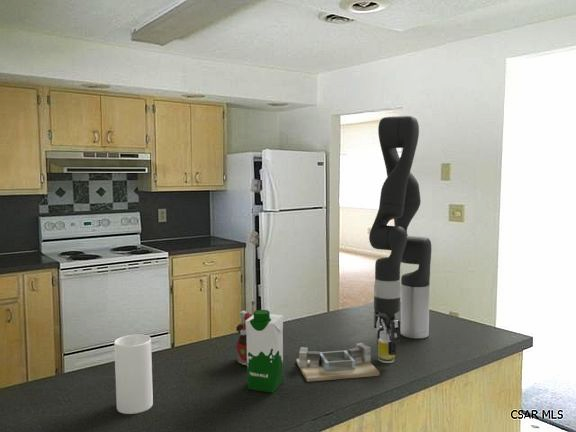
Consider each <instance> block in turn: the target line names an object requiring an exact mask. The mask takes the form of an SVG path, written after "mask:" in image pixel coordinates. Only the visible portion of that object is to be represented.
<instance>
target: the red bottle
mask: <svg viewBox="0 0 576 432" xmlns="http://www.w3.org/2000/svg"><path fill="white" fill-rule="evenodd" d="M254 311H256V302H255V300H251V313H250V312H247V311H246V310H241V311H240V312H239V313H238V315H239V318H240V319H244V323H243V322H242V323H241V322H240V323H239V324H237V326H236V329H235V330H236V332H238V334H240V336H239V337H238V340H237V342H236V346H237V347H236V351H237V353H238V356H237V358H236V359H237V362H238V363H239V364H241V365H243V366H244V365H245V366H247V335H246V324H245V321H246V320H247V319H248V318H250V317H251V316H252V315H254Z"/></svg>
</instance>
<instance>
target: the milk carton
mask: <svg viewBox="0 0 576 432" xmlns="http://www.w3.org/2000/svg"><path fill="white" fill-rule="evenodd" d="M251 315H252V314H251ZM244 323H245V324H246V335H247V365H246V375H247V380H246V381H247V390H253V391H258V392H263V393H264V392H265V393H266V392H267V393H272V394H273V393H275V391H277V389H278V388H279V387H280V385H281V384H282V383H283V379H284V378H283V377H284V371H283V370H284V353H283V352H284V341H283V339H284V338H283V337H284V336H283V335H284V334H283V333H284V329H283V328H284V315H283V314H275V313H271V312H270V311H269V310H266V309H258V310H255V311H254V315H252V316H251V317H250V318H248V319H247V320H246V321H245V320H244Z"/></svg>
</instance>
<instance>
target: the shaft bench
mask: <svg viewBox="0 0 576 432" xmlns="http://www.w3.org/2000/svg"><path fill="white" fill-rule="evenodd" d="M371 348H372V347H371V346H369V345H367V344H365V343H363V342H359V343H355V347H353V348H348V349H346V350H332V351H318V350H317V351H314V350H313V351H312V350H311V351H309V350H308V349H309V348H308V347H303V346H301V347H300V349H299V352H298V353H299V355H298V358H296V359H295V360H296V362H295V363H296V364H297V366H298V368H299V369H300V372H301V374H302V375H303V377H304V378H305V381H306V382H320V381H321V382H322V381H332V380H343V379H344V380H345V379H354V378H356V379H358V378H366V377H377V376H378V377H379V376H380V371H379V369H377V368H376V367H375V365H373V363H372V362H371V354H372V353H371V352H372V349H371Z"/></svg>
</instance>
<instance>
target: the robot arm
mask: <svg viewBox="0 0 576 432" xmlns="http://www.w3.org/2000/svg"><path fill="white" fill-rule="evenodd" d="M377 127H378V129H377V130H378V141H379V145H380V149H381V152H382V153H381V154H382V157H383V160H384V161H383V162H384V166H385V170H386V176H387V177H386V179H385V180H384V181H383V184H382V187H381V189H380V196H379V197H380V198H379V205H378V211H377V213H376V216H375V219H374V221H373V224H372V226H371V228H370V231H369V236H368V240H369V243H370V246H371V247H372V248H373V249H375V250H382V251H383V250H384V251H390V255H389V256H387V257H380V258H378V259H376V261H375V263H374V265H375V267H374V278H375V279H374V284H373V310H374V313H373V328H374V329H375V332H376V344H377V345H378V340H379V338H380V331H383V330H384V332H385V334H386V335H387V337H388V354H389V355H395V356H396V354H397V342H401V339H402V338H401V337H402V336H403V337H406V338H410V339H425V338H427V337H429V334H430V333H429V331H430V326H429V325H430V285H431V284H430V282H431V281H430V279H431V278H430V277H431V264H432V263H431V261H432V241H431V240H430V238H429V237H426V236H413V235H411V236H410V235H409V234H408V228H409V225H410V223H411V222H412V220H413V219H414V217H415V216H416V214H417V212H418V210H419V208H420V206H421V200H422V199H421V193H420V186H419V182H418V180H417V178H416V177H415V175H414V174H413V173H412V172H411V171H412V170H411V169H412V166H413V162H414V158H415V154H416V150H417V146H418V141H419V137H420V136H419V135H420V125H419V122H418V119H417V118H416V117H415V116H413V115H400V116H399V115H398V116H385V117H382V118H380V120H379V123H378V126H377ZM397 149H402V151H401V155H399V153H398V150H397ZM392 220H393V222H394V225H388V223H389V222H390V221H392ZM401 263H402V264H408V265H418V269H415V270H414V271H412V272H407V273H404V274H402V276H401ZM397 313H400V319H396V314H397ZM390 334H391V336H390Z"/></svg>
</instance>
